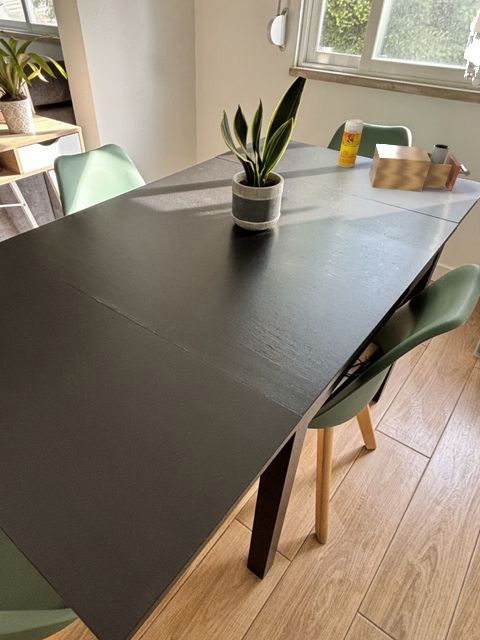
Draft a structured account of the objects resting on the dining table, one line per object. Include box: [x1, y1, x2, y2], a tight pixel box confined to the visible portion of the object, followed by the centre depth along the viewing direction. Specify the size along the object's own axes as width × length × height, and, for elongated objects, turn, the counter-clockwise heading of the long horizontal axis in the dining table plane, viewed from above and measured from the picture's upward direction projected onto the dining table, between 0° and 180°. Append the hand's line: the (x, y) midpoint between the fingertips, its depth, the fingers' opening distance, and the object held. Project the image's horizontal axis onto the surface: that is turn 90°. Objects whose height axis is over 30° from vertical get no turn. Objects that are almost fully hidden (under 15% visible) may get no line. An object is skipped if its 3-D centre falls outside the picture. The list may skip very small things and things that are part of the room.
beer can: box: [337, 118, 364, 169], centre depth 153 cm, size 6×6×15 cm
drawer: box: [423, 152, 471, 192], centre depth 141 cm, size 19×13×8 cm
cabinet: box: [369, 143, 431, 193], centre depth 143 cm, size 16×15×10 cm
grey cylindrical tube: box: [430, 143, 450, 164], centre depth 140 cm, size 4×4×10 cm
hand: (470, 82), depth 130 cm, fingers open, 8 cm apart
